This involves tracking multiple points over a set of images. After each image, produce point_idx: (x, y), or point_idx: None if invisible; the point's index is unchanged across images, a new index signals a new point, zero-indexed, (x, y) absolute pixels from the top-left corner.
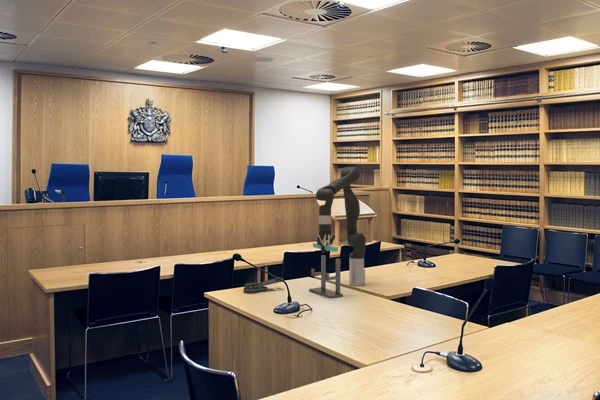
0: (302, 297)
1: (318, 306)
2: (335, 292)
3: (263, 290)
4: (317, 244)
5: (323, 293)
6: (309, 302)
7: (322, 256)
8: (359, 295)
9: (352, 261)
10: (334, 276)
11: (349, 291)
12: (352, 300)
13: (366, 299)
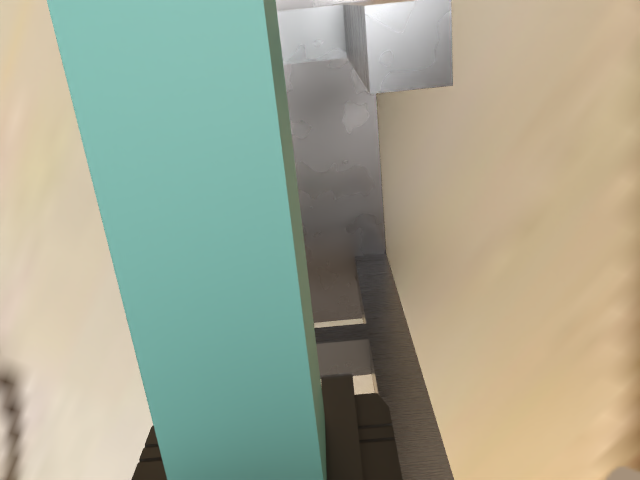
0: (47, 183)
1: (77, 462)
2: (365, 238)
3: None
4: (108, 219)
5: None
6: (51, 351)
7: (366, 68)
8: (533, 322)
9: None
10: (342, 355)
11: (562, 161)
12: None
13: (493, 438)
